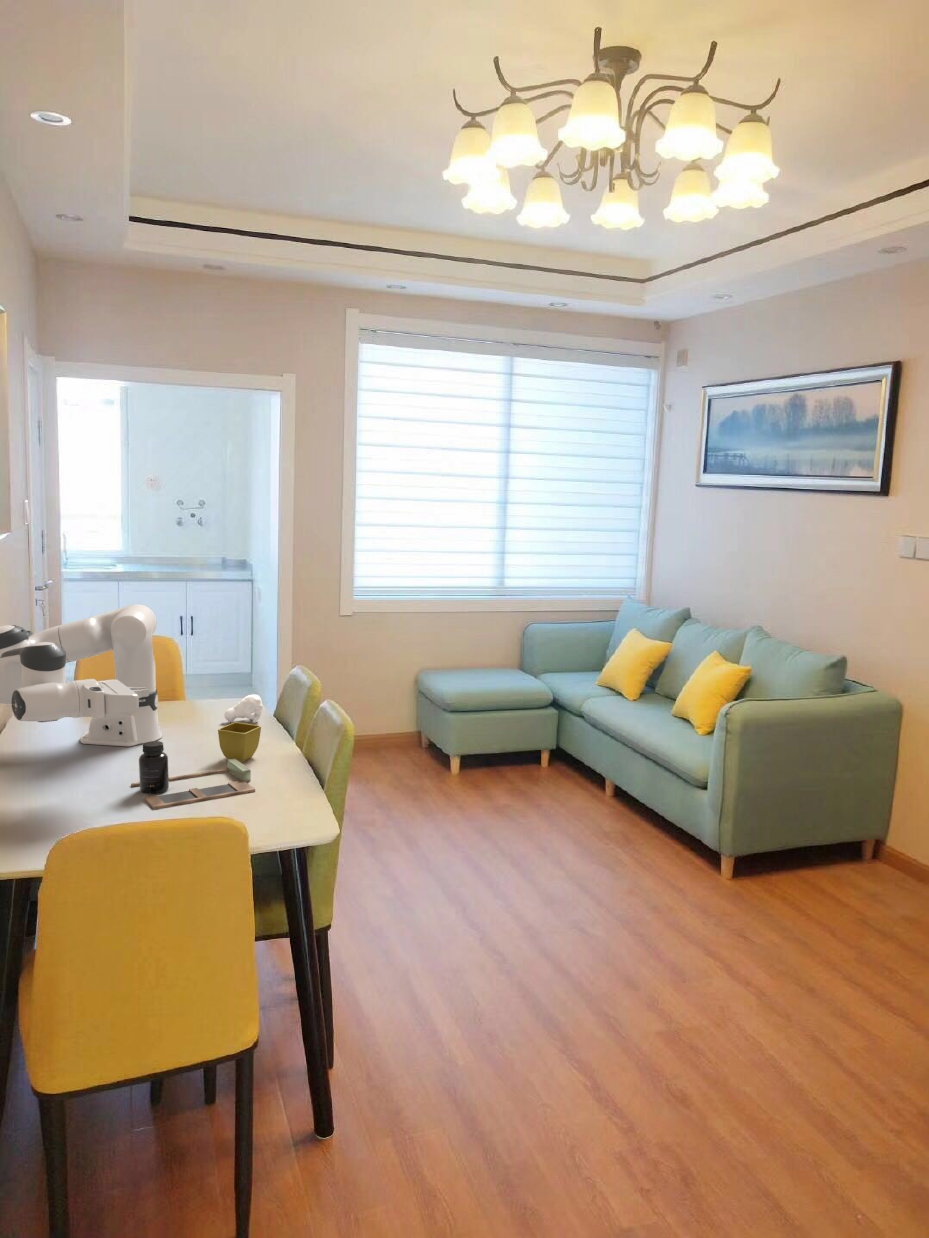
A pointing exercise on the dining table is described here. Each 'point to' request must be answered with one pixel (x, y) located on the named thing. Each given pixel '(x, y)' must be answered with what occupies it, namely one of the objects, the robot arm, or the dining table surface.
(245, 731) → the flower pot
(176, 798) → the board
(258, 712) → the white lumpy piece
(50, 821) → the dining table surface
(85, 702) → the robot arm
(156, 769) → the supplement bottle
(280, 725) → the dining table surface
